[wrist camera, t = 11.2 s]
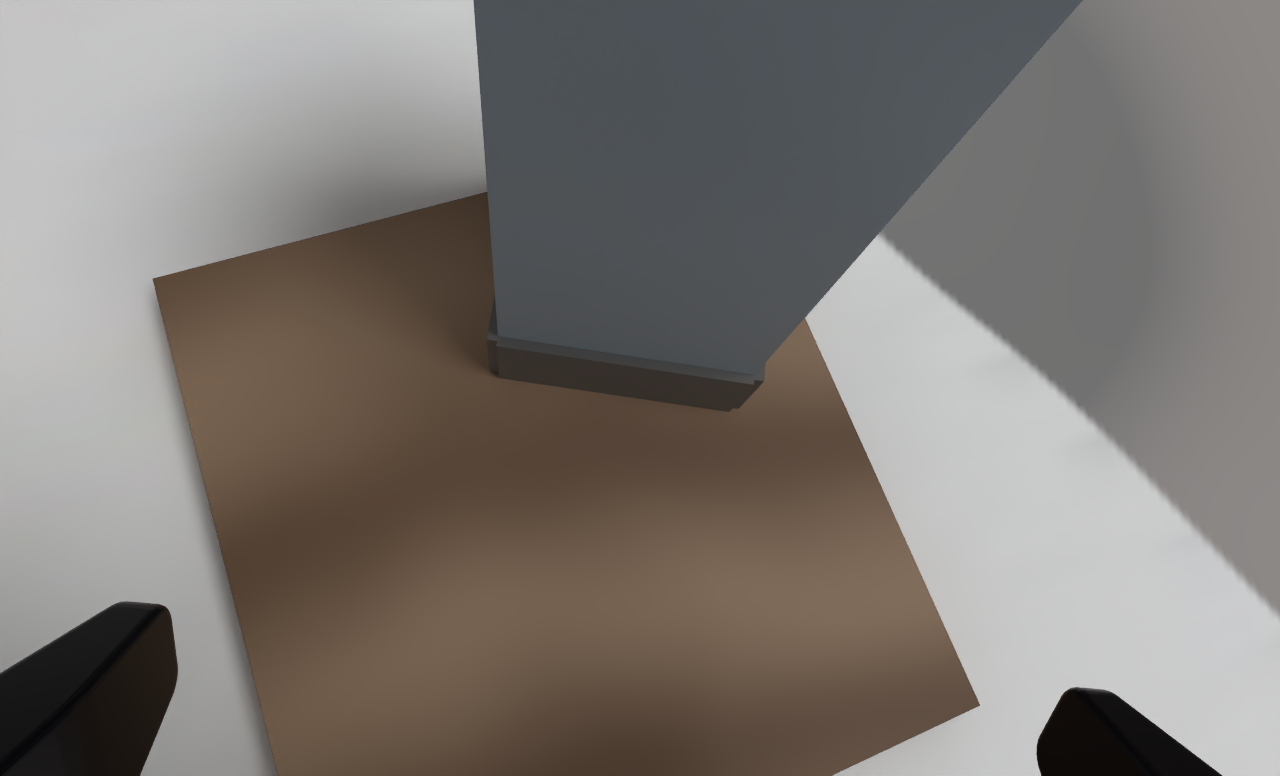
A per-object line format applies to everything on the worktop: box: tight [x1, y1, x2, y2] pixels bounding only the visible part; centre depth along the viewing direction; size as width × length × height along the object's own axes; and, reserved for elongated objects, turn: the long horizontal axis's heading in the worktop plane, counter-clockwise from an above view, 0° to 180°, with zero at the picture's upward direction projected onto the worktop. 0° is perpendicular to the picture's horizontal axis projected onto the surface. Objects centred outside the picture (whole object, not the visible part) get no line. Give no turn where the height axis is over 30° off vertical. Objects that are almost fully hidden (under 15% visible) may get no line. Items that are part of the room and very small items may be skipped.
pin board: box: [153, 192, 980, 776], centre depth 16 cm, size 14×13×5 cm
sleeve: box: [474, 0, 1082, 412], centre depth 12 cm, size 5×5×13 cm
